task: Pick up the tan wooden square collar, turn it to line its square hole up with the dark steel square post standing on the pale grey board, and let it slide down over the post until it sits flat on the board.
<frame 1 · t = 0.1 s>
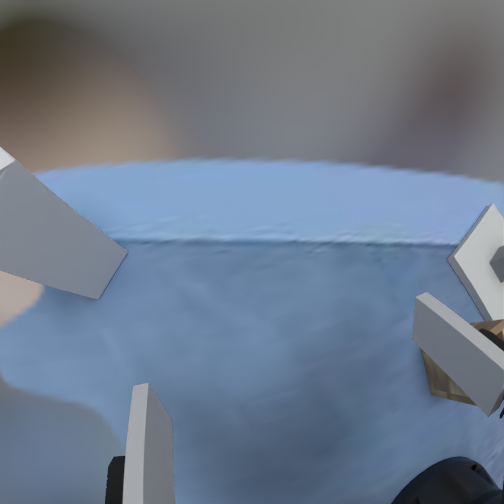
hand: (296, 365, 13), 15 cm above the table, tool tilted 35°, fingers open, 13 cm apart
milk: (94, 261, 30), on the table
collar: (446, 359, 28), on the table
post board: (492, 267, 30), on the table
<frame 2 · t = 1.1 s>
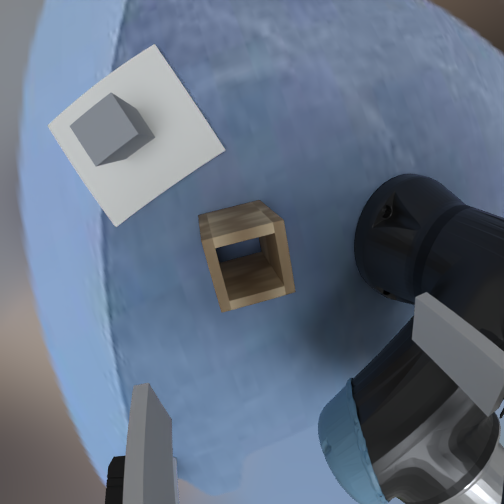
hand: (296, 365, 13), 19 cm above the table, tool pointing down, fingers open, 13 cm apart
collar: (235, 236, 30), on the table
post board: (133, 134, 25), on the table
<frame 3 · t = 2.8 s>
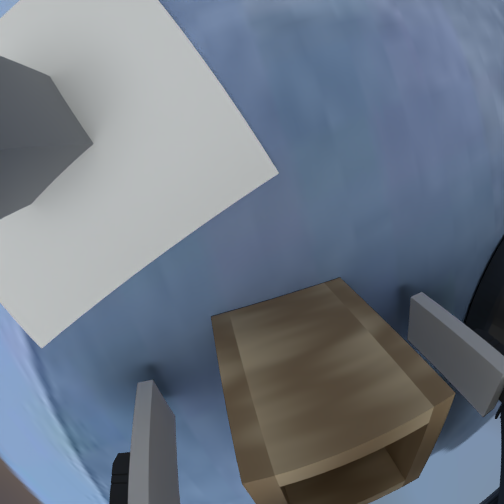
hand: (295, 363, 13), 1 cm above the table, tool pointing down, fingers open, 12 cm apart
collar: (288, 348, 15), on the table
post board: (53, 139, 9), on the table
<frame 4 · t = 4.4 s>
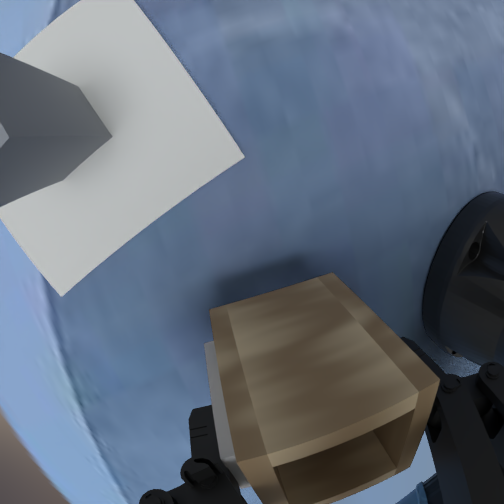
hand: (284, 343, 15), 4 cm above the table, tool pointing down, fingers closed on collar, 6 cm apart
collar: (283, 340, 15), point 4 cm above the table, touching gripper
post board: (79, 133, 13), on the table
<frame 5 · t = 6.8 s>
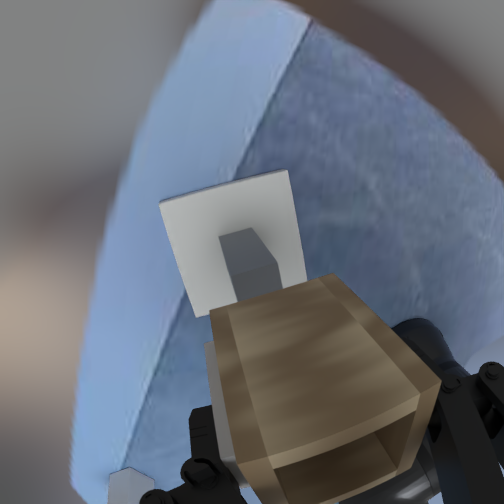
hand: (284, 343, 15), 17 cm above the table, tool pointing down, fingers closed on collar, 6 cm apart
milk: (131, 476, 41), on the table
collar: (283, 341, 15), point 17 cm above the table, touching gripper
post board: (236, 242, 31), on the table
when the fingers open (3 cm above the table, at t = 9.7 s): collar drops 2 cm, resting on post board.
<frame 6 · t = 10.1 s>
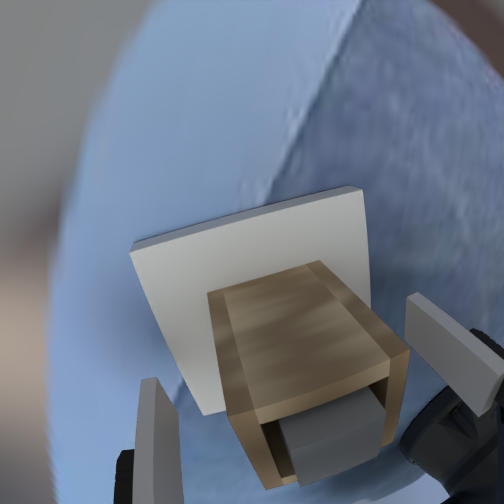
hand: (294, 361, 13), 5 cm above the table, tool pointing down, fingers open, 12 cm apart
collar: (275, 323, 17), point 1 cm above the table, touching post board
post board: (268, 308, 18), on the table
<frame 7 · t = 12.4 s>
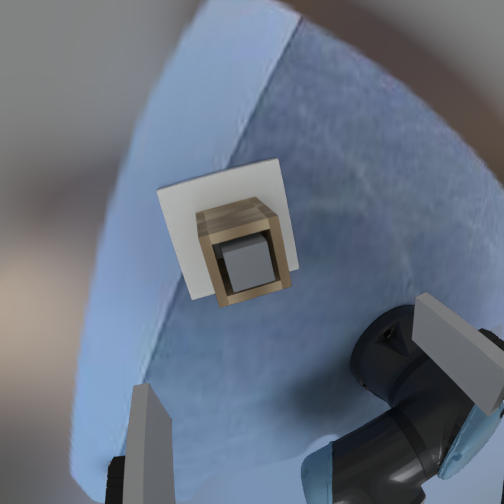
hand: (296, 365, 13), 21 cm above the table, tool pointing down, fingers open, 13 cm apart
collar: (232, 233, 31), point 1 cm above the table, touching post board
post board: (230, 228, 32), on the table
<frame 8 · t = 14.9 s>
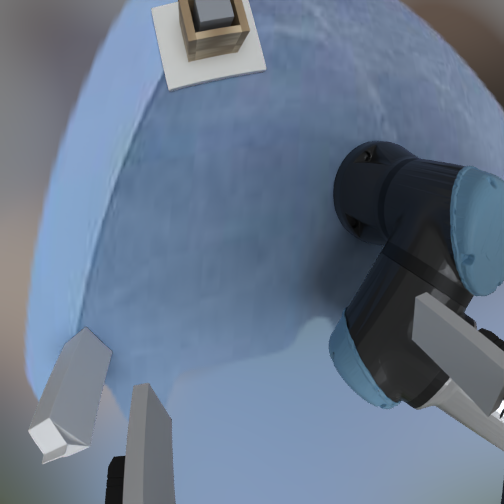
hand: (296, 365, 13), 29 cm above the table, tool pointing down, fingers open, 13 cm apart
milk: (88, 347, 42), on the table
collar: (208, 35, 30), point 1 cm above the table, touching post board
post board: (207, 38, 31), on the table
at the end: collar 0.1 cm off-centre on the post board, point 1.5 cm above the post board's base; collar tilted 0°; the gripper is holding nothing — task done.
